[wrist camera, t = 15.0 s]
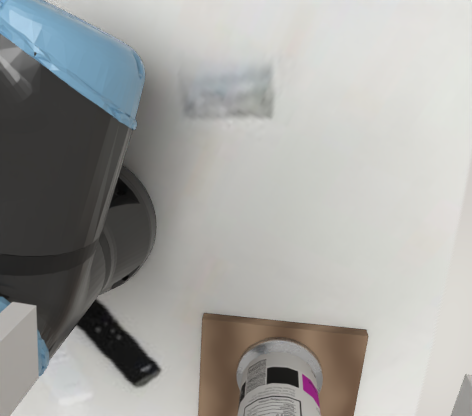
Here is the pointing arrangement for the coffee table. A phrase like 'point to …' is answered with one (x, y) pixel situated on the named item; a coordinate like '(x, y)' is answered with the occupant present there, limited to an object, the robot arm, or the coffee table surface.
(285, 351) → the large steel flange
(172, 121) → the coffee table surface
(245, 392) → the supplement can
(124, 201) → the robot arm
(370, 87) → the coffee table surface
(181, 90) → the coffee table surface
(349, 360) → the walnut board
